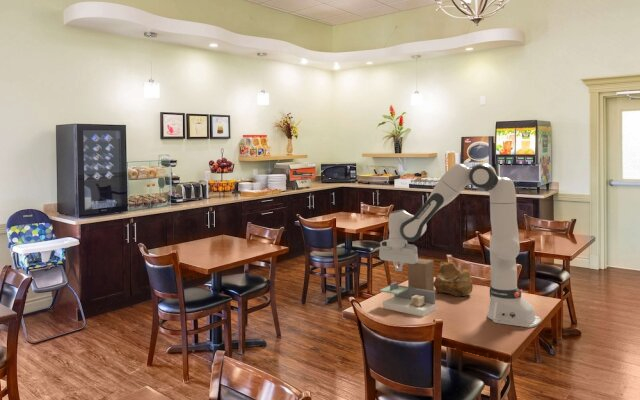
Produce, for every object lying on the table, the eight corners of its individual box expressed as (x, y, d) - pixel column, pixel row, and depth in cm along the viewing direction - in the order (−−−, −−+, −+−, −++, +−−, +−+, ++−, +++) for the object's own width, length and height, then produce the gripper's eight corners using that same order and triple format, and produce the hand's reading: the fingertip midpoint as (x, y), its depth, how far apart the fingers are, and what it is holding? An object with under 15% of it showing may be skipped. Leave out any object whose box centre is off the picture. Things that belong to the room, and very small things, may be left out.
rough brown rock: (424, 290, 273) (422, 264, 271) (449, 284, 279) (447, 258, 276) (449, 303, 251) (447, 275, 249) (476, 296, 257) (474, 268, 255)
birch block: (424, 310, 237) (424, 296, 236) (419, 313, 234) (419, 298, 233) (416, 308, 240) (415, 294, 239) (411, 311, 236) (411, 297, 236)
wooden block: (425, 302, 249) (425, 264, 246) (408, 299, 255) (407, 261, 253) (434, 297, 256) (434, 260, 254) (416, 294, 262) (416, 257, 260)
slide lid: (408, 289, 244) (408, 282, 244) (397, 294, 236) (397, 287, 236) (390, 286, 251) (390, 279, 250) (379, 291, 243) (379, 283, 243)
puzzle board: (435, 309, 237) (435, 291, 236) (423, 316, 228) (423, 297, 227) (395, 301, 252) (395, 284, 251) (383, 307, 242) (382, 290, 241)
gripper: (420, 243, 236) (420, 271, 237) (384, 240, 249) (384, 266, 250) (413, 246, 231) (414, 274, 232) (377, 242, 244) (378, 269, 246)
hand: (398, 270), depth 242 cm, fingers closed
